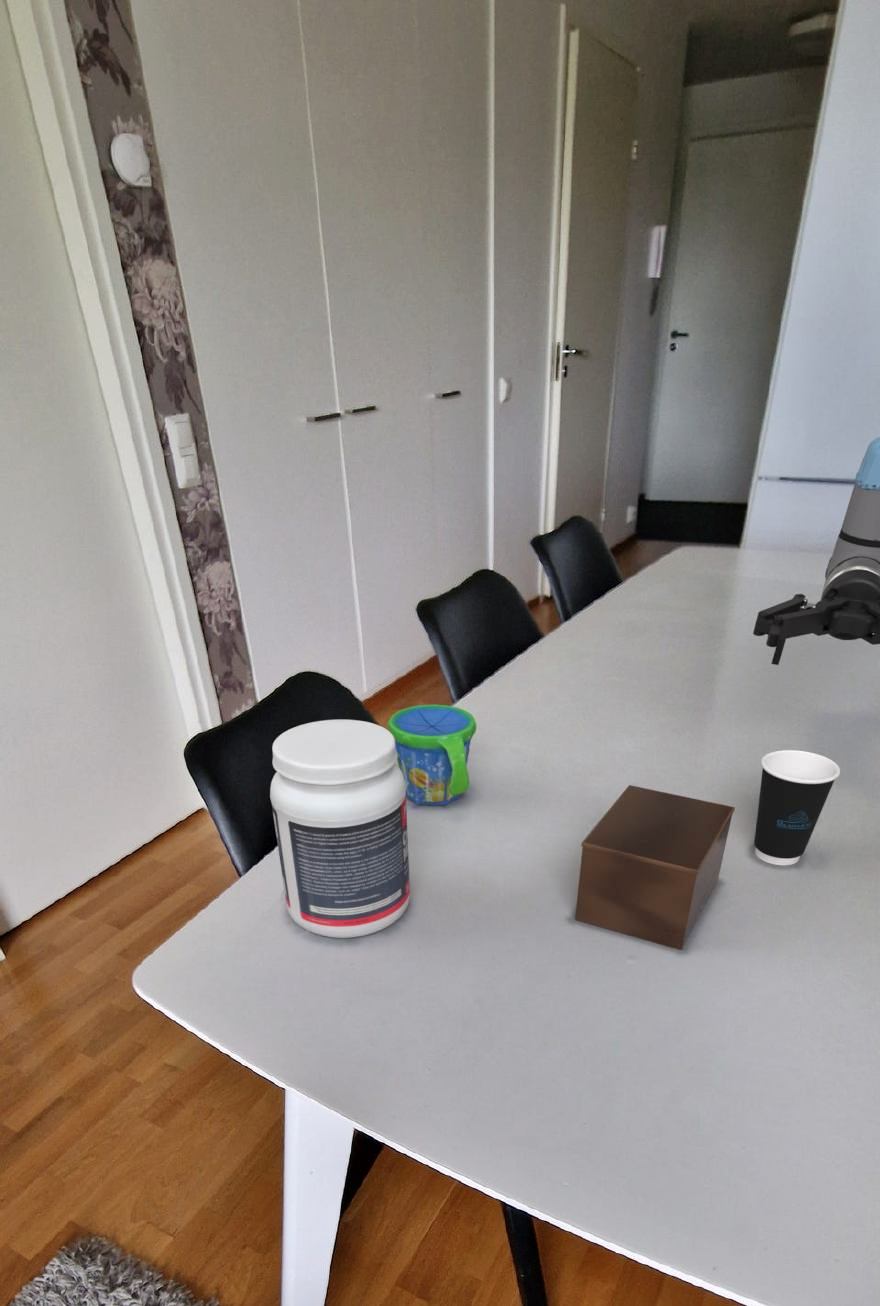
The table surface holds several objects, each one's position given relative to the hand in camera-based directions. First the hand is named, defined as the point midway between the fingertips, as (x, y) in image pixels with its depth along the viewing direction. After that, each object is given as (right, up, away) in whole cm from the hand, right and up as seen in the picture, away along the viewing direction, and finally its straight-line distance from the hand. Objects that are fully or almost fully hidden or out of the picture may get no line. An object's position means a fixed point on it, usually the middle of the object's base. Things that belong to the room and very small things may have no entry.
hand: (845, 663), depth 89 cm
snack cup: (-44, -10, +20) cm, 49 cm away
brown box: (-21, -25, 0) cm, 32 cm away
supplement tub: (-52, -26, -1) cm, 58 cm away
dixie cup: (-4, -20, +7) cm, 21 cm away
